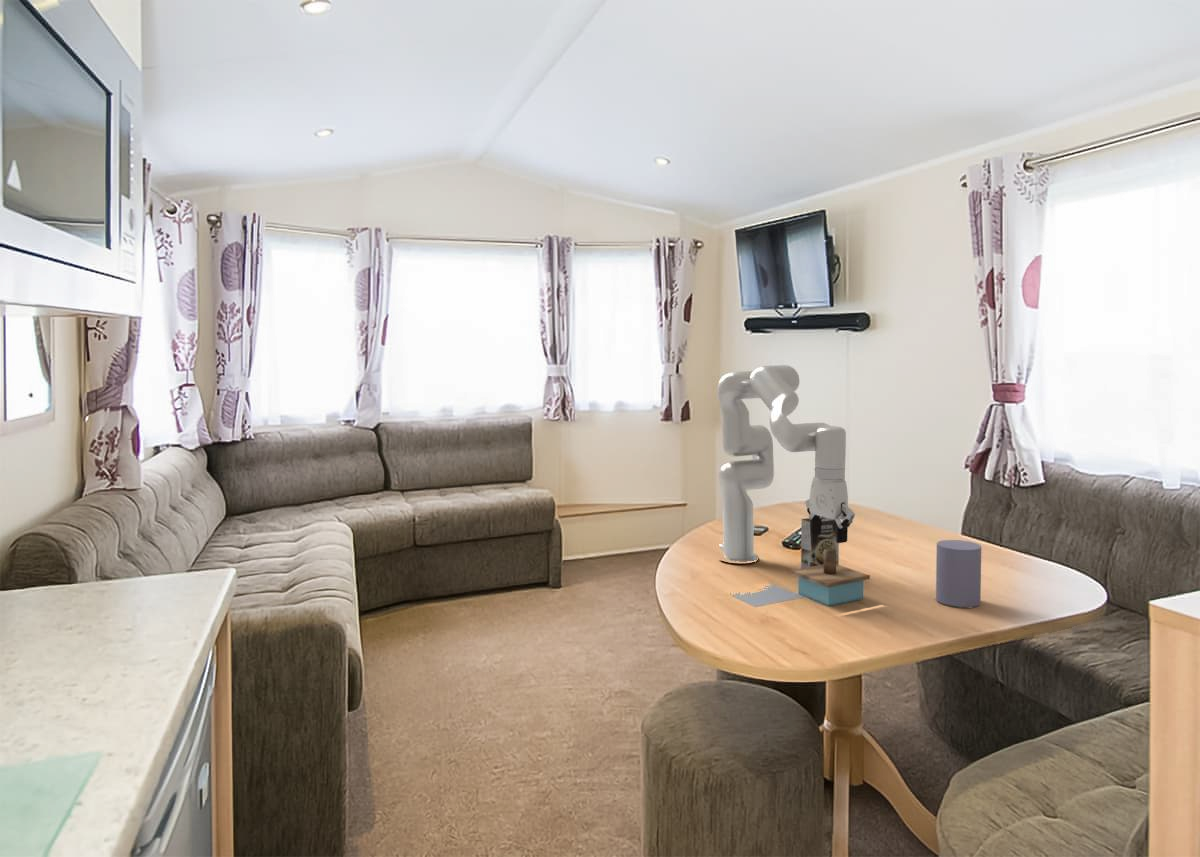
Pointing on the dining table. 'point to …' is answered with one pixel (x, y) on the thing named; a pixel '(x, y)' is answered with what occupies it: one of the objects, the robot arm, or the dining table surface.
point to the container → (958, 573)
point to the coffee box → (818, 542)
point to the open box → (830, 592)
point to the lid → (830, 572)
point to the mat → (767, 596)
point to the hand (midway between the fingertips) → (828, 537)
